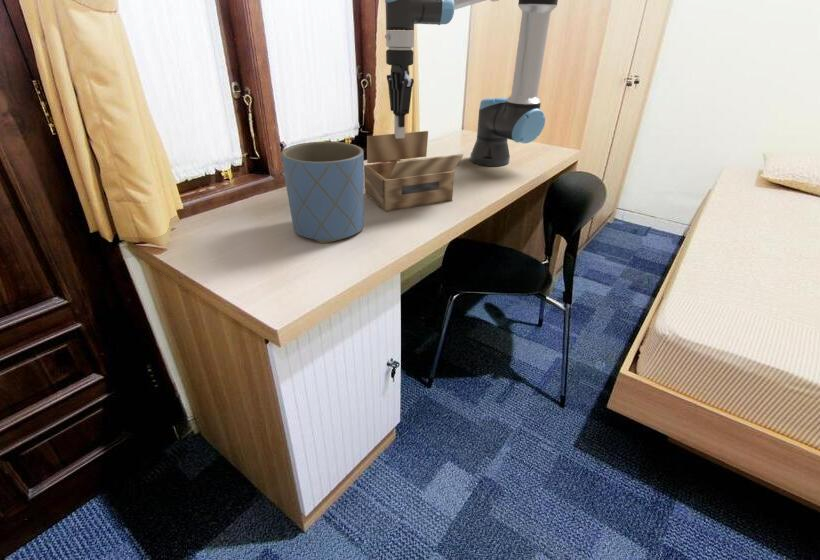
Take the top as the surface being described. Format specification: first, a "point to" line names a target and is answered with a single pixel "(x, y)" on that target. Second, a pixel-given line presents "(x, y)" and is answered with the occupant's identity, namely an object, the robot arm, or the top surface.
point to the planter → (325, 189)
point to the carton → (406, 187)
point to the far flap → (396, 147)
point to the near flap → (425, 166)
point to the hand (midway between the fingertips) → (399, 137)
